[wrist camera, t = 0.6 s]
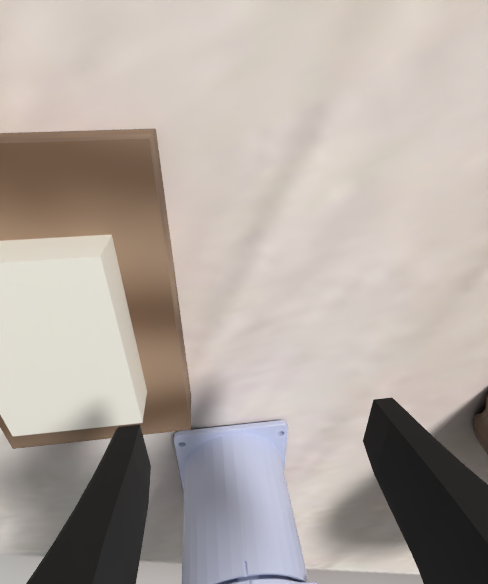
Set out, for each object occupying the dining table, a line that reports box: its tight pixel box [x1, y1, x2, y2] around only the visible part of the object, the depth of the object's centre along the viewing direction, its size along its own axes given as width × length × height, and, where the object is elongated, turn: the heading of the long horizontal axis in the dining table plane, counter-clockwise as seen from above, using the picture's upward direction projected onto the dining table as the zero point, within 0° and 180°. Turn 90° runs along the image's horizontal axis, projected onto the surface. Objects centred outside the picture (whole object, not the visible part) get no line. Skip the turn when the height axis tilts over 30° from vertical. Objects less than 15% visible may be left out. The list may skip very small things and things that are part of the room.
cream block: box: [0, 235, 147, 436], centre depth 15 cm, size 9×6×2 cm, turn 1°
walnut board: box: [0, 129, 191, 449], centre depth 17 cm, size 16×10×2 cm, turn 1°
